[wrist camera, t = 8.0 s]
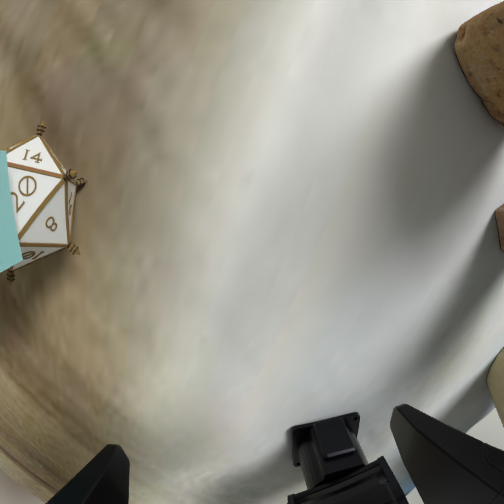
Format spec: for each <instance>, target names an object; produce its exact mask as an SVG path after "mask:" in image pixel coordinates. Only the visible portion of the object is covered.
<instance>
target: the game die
mask: <svg viewBox="0 0 504 504" xmlns="http://www.w3.org/2000/svg"><path fill="white" fill-rule="evenodd" d="M45 128H46V127H45V124H44V121H43V122H42V123H41V124H40V125H38V129H37V134H36V135H34V136H32V137H30V138H27V139H25V140H23V141H21V142H19V143H17V144H15V145H12V146H10V147H8V148H6V149H4V150H2V151H6V152H7V165H8V176H9V185H10V193H11V200H12V207H13V213H14V219H15V224H16V229H17V234H18V239H19V244H20V248H21V253H22V257H23V260H22V261H20V262H19V263H17V264H15V265H13V266H11V267H9V268H8V270H9V272H8V274H7V275H8V277H7V280H8V281H9V284H10V285H11V283H12V282H13V281H14V280H15V279H14V276H15V275H14V271H15V270H17V269H19V268H21V267H23V266H26V265H28V264H30V263H32V262H35V261H37V260H39V259H41V258H44V257H46V256H48V255H51V254H53V253H55V252H58V251H60V250H62V249H65V248H68V249H69V250H70V251H69V252H72V253H73V254H77V255H80V252H79V249H78V247H76V246H75V244H74V245H73V244H71V243H70V242H71V230H72V219H73V210H74V202H75V195H76V187H77V186H79V187H80V186H83V185H84V184H85V182H86V181H87V180H85V179H83V178H80V179H77V181H75V180H74V178H75V177H76V174H77V172H78V171H75V170H72V169H70V170H69V171H67V170H66V168H65V167H64V166H63V164H62V163H61V162H60V160H59V159H58V158H57V156H56V155H55V154H54V152H53V151H52V150H51V148H50V147H49V146H48V144H47V143H46V141H45V140H44V139H43V137H42V133H43V132H44V129H45Z"/></svg>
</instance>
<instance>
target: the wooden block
mask: <svg viewBox="0 0 504 504" xmlns="http://www.w3.org/2000/svg"><path fill="white" fill-rule="evenodd" d="M495 215H496V220H497V226H498V232H499V238H500V245H501V250H502V252H504V204H503V205H502V206H501V207H500V208H498V209H497V210H496V213H495Z"/></svg>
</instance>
